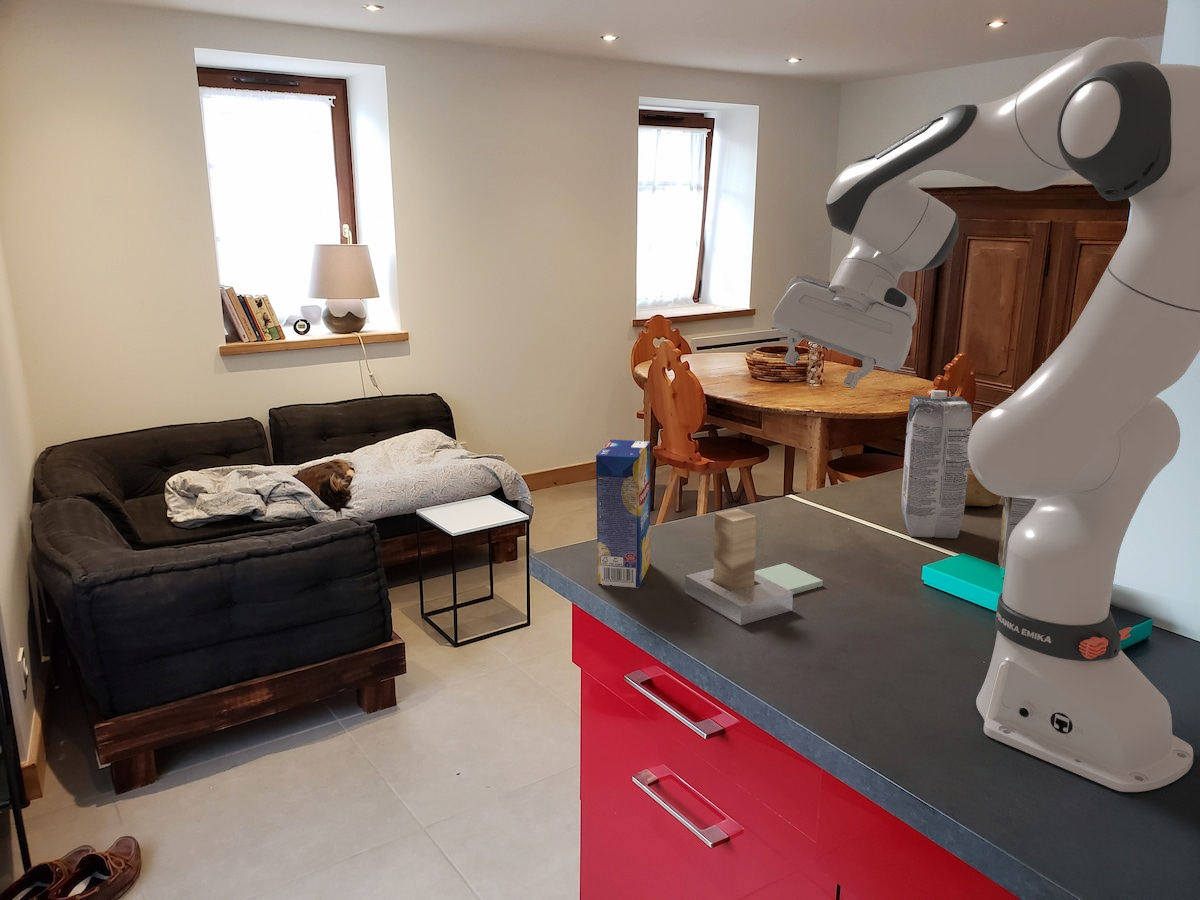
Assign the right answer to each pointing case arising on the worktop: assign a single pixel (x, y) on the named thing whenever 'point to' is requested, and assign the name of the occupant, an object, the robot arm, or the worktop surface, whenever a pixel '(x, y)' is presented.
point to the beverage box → (623, 512)
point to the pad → (790, 578)
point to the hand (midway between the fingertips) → (818, 374)
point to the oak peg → (734, 549)
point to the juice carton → (936, 465)
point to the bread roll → (978, 493)
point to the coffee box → (1011, 522)
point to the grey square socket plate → (740, 597)
